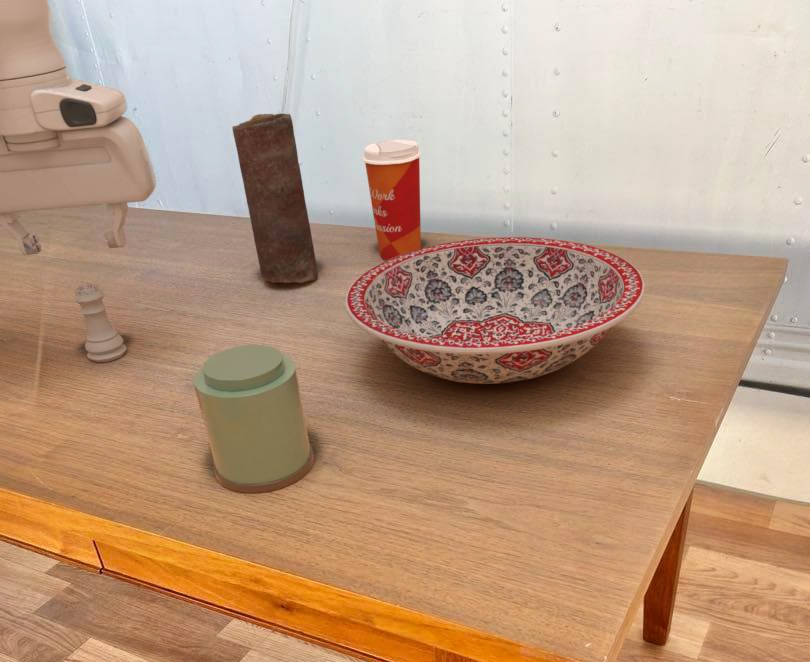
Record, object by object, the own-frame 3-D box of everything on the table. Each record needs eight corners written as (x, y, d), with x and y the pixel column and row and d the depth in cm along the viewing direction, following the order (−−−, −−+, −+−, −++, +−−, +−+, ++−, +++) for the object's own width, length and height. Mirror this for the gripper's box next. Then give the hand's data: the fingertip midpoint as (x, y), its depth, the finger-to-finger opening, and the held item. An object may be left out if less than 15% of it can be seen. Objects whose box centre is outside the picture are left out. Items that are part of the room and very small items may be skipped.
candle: (282, 296, 108) (251, 125, 96) (250, 283, 112) (218, 119, 100) (329, 278, 112) (306, 111, 99) (297, 266, 116) (271, 106, 104)
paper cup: (364, 252, 118) (352, 145, 110) (414, 241, 120) (406, 135, 112) (385, 268, 113) (374, 156, 104) (437, 256, 115) (431, 145, 106)
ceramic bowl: (306, 411, 82) (293, 334, 78) (413, 298, 103) (408, 231, 99) (607, 448, 72) (613, 362, 68) (658, 315, 94) (665, 242, 89)
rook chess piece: (98, 347, 99) (76, 280, 95) (133, 346, 99) (113, 279, 94) (81, 364, 96) (58, 295, 91) (118, 363, 95) (96, 294, 90)
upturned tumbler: (221, 502, 71) (194, 395, 65) (209, 452, 78) (183, 351, 72) (323, 478, 72) (305, 372, 66) (303, 431, 79) (285, 331, 73)
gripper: (-89, 123, 80) (-31, 267, 88) (120, 103, 78) (159, 252, 87) (-59, 109, 85) (-6, 247, 93) (139, 91, 83) (174, 232, 92)
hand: (75, 249), depth 90 cm, fingers open, 8 cm apart
